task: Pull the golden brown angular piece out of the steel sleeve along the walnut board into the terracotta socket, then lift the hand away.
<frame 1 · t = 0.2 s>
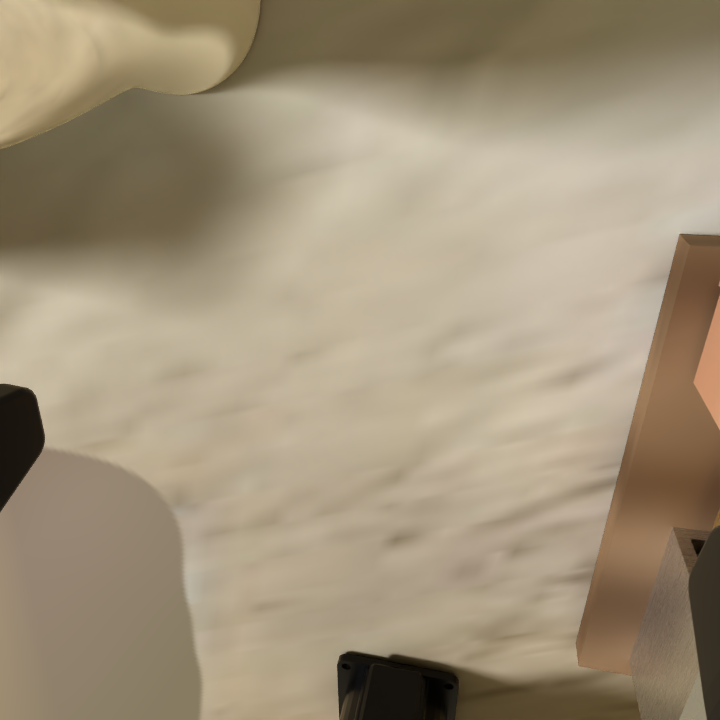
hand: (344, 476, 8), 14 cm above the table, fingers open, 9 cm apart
steel sleeve: (706, 585, 25), resting on walnut board
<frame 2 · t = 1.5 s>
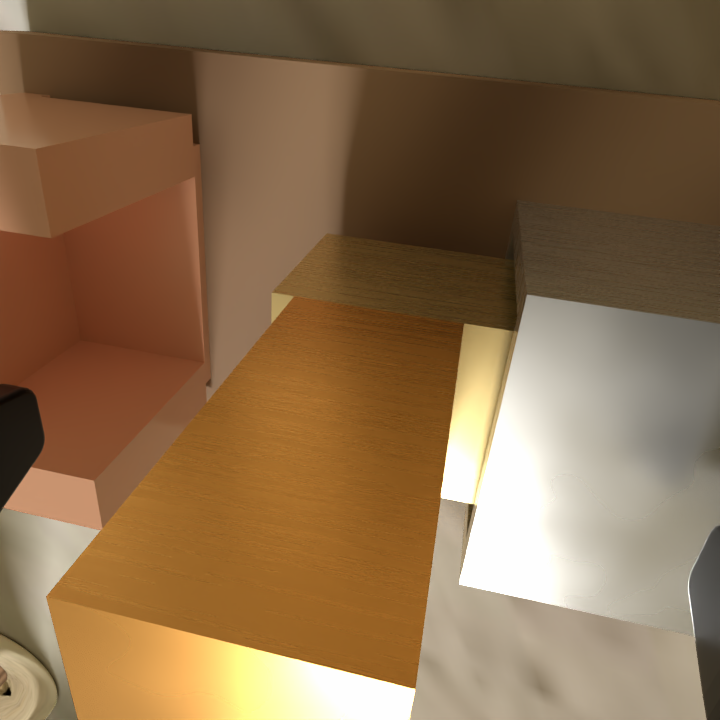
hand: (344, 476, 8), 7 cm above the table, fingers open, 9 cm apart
terracotta socket: (153, 245, 15), resting on walnut board
steel sleeve: (676, 325, 13), resting on walnut board
golden brown angular piece: (701, 513, 8), point 6 cm above the table, slide at 0.0 cm
walnut board: (450, 290, 14), on the table
beer glass: (0, 666, 27), on the table
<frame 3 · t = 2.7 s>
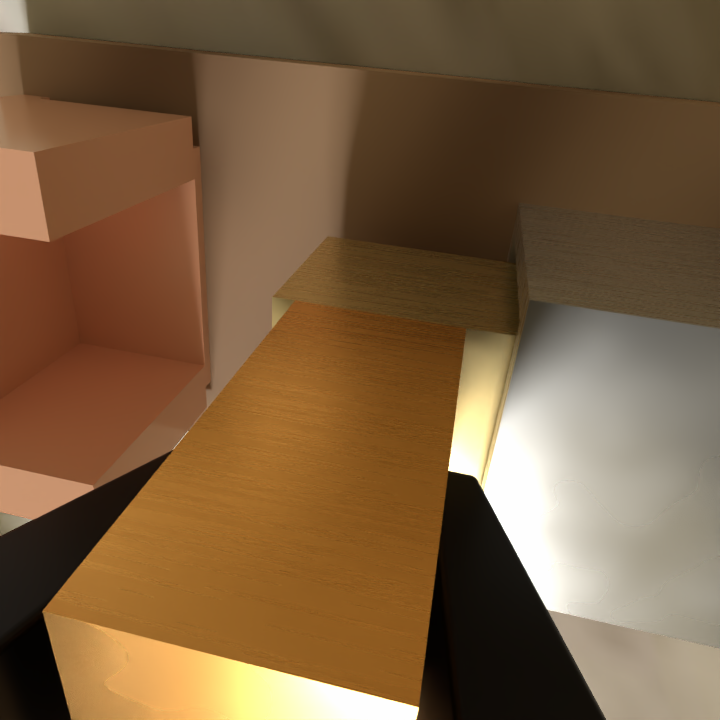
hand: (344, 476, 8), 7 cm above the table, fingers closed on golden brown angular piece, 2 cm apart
terracotta socket: (153, 247, 15), resting on walnut board
steel sleeve: (678, 328, 13), resting on walnut board
golden brown angular piece: (706, 520, 8), point 6 cm above the table, slide at 0.0 cm, touching gripper
walnut board: (451, 293, 14), on the table
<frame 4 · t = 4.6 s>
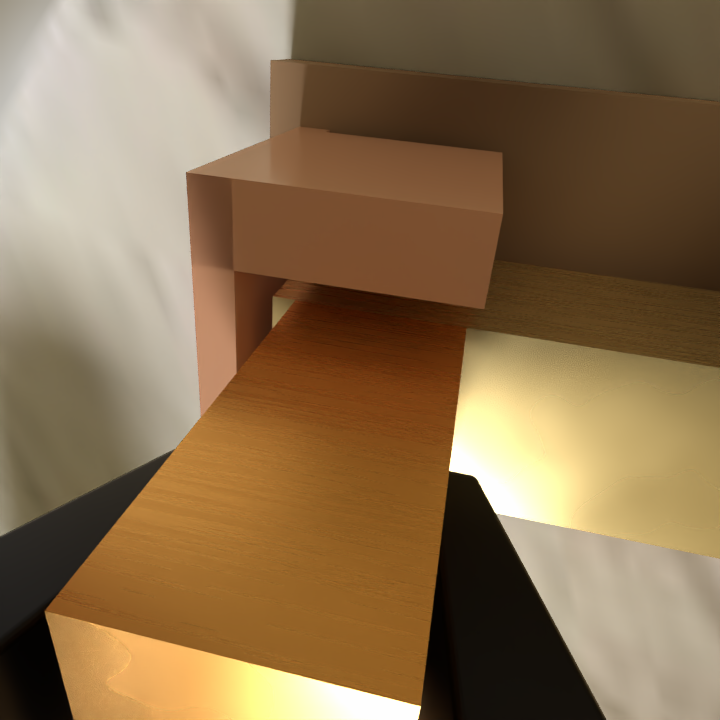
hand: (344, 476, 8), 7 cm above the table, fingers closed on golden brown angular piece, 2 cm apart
terracotta socket: (390, 283, 14), resting on walnut board
golden brown angular piece: (707, 519, 8), point 6 cm above the table, slide at 6.0 cm, touching gripper
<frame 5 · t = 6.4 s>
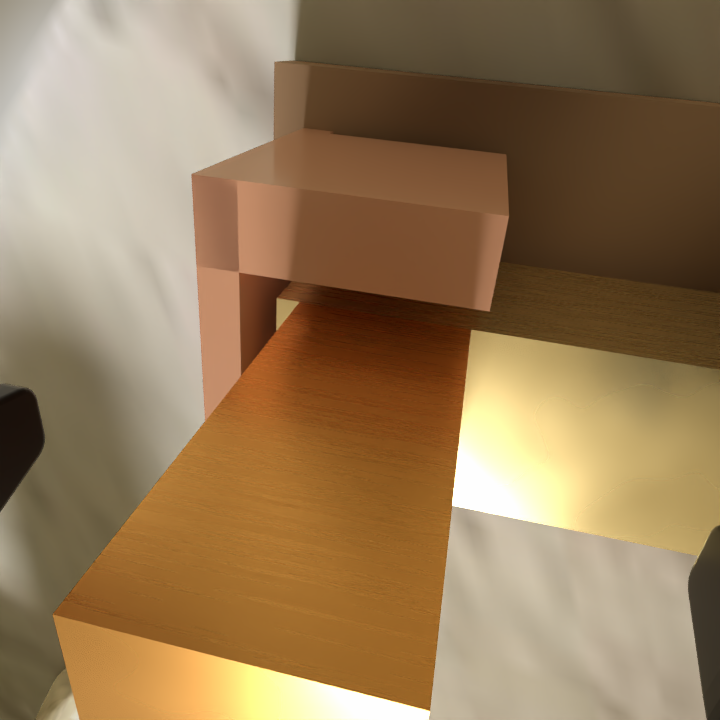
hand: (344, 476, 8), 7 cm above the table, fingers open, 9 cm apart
terracotta socket: (393, 284, 14), resting on walnut board
golden brown angular piece: (712, 521, 8), point 6 cm above the table, slide at 6.0 cm
beer glass: (124, 703, 26), on the table
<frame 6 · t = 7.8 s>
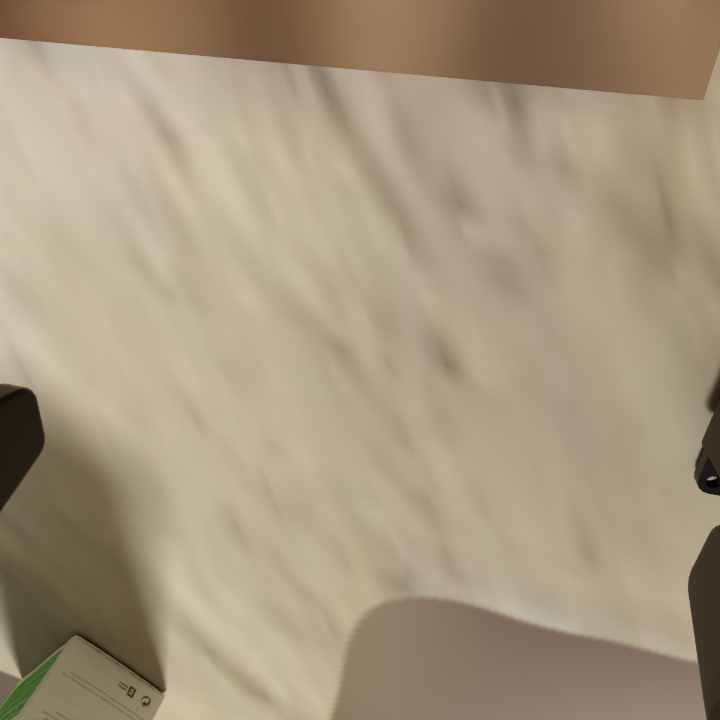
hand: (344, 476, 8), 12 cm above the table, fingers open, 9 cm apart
skincare box: (95, 685, 35), on the table
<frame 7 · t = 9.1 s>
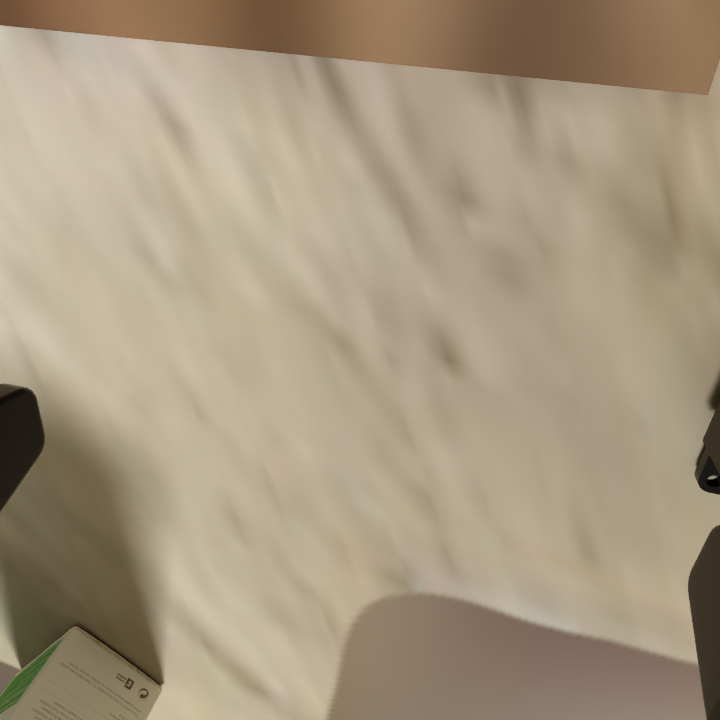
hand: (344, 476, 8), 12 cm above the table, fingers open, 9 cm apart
skincare box: (93, 676, 35), on the table
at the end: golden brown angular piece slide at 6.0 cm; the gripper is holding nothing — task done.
